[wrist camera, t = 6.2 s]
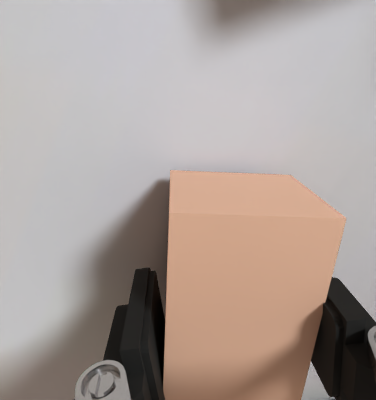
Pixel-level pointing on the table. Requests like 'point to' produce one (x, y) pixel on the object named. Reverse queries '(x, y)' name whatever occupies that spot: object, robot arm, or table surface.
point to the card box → (244, 284)
